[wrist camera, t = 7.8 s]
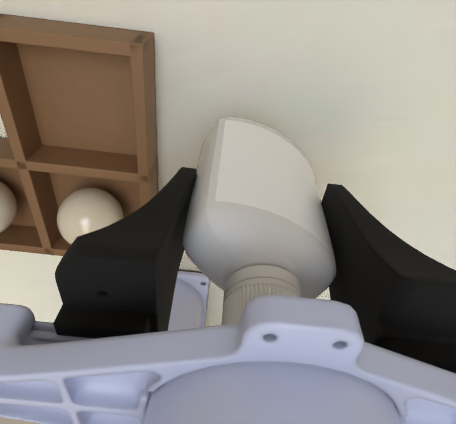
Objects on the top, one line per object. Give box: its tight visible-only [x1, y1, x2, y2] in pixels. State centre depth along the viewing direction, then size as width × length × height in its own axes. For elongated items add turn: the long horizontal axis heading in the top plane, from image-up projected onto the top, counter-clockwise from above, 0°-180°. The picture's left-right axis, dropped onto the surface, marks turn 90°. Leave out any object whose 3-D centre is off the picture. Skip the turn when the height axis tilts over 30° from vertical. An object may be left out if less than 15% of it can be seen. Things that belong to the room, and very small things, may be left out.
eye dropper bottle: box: [183, 117, 336, 325], centre depth 13 cm, size 4×6×12 cm
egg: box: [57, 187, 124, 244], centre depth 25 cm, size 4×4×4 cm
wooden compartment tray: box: [0, 14, 158, 256], centre depth 23 cm, size 16×16×3 cm
